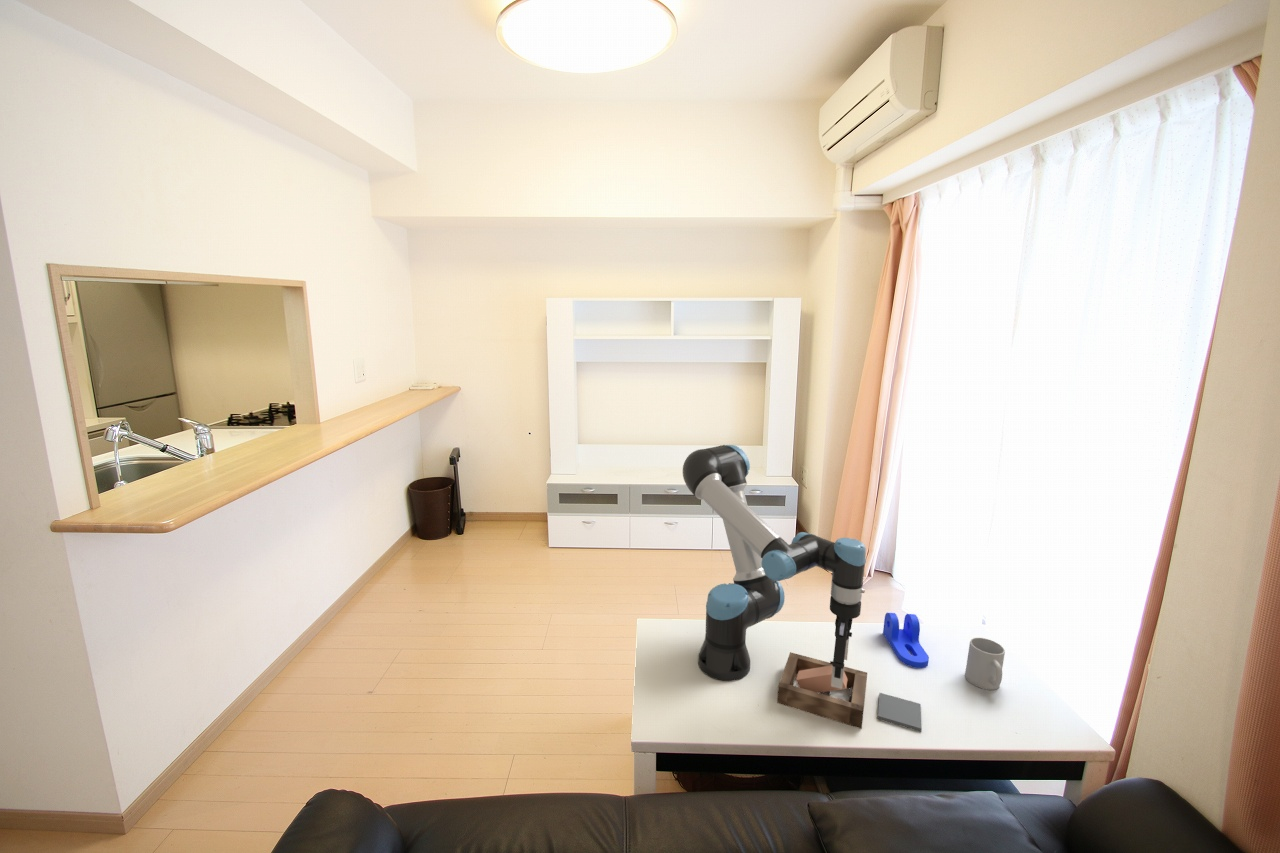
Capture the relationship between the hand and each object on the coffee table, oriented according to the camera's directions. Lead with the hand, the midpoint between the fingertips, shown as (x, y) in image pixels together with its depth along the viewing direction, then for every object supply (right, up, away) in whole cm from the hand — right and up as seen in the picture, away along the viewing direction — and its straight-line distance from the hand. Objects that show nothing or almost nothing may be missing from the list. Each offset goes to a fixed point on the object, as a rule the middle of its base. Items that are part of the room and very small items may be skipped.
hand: (839, 672), depth 146 cm
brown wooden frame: (-3, -8, +3) cm, 9 cm away
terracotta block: (-3, -5, +2) cm, 7 cm away
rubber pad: (+15, -9, -3) cm, 18 cm away
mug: (+45, -8, +9) cm, 46 cm away
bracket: (+30, -5, +25) cm, 39 cm away
